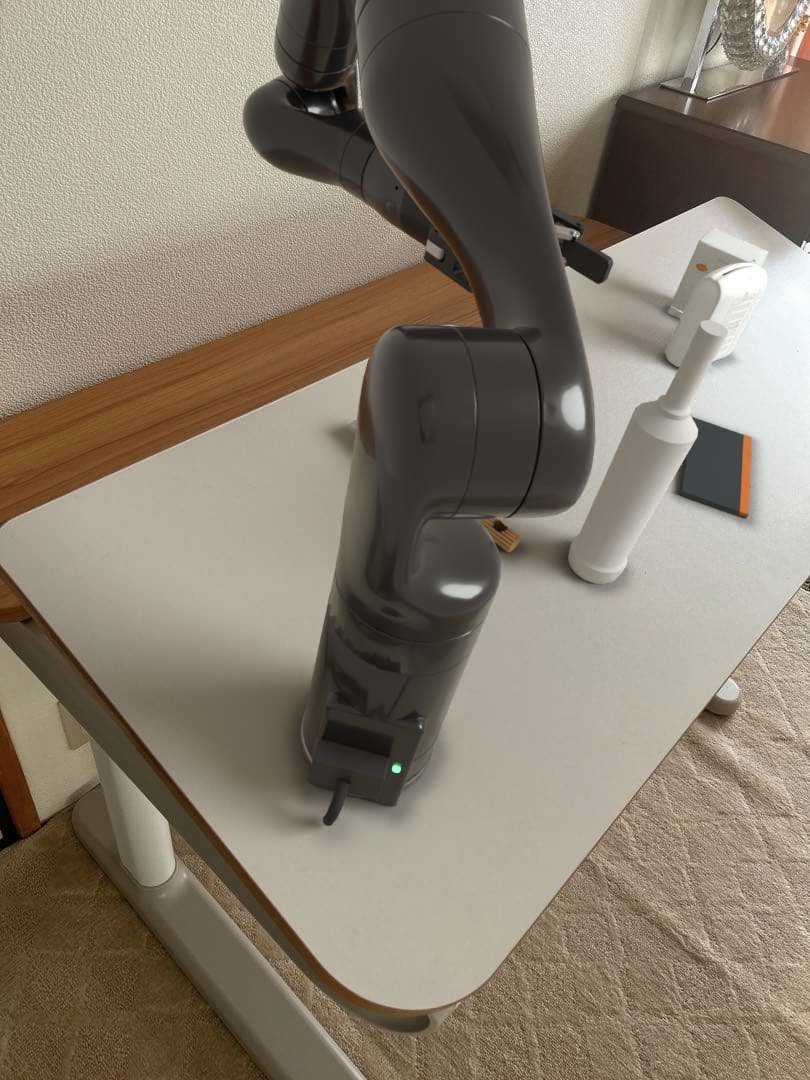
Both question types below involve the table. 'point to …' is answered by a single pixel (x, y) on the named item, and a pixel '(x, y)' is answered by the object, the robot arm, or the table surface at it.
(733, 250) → the small box
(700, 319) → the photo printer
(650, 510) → the bottle
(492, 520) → the paintbrush
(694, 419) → the mat
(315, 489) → the table surface
